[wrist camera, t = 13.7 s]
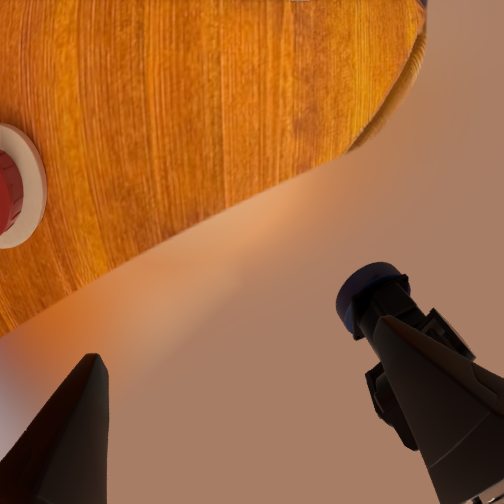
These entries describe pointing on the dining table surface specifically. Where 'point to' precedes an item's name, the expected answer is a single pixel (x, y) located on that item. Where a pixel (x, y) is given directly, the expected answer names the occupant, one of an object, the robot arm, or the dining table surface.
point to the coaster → (24, 184)
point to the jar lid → (9, 192)
